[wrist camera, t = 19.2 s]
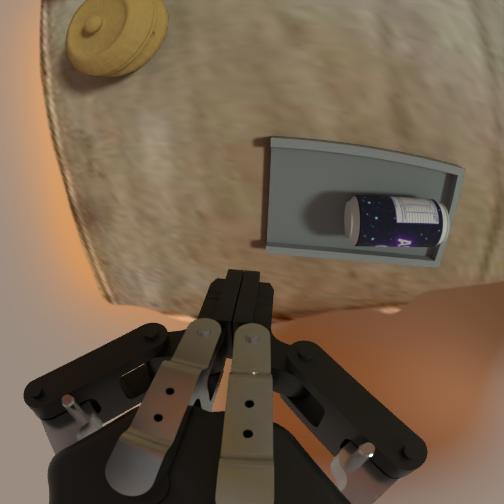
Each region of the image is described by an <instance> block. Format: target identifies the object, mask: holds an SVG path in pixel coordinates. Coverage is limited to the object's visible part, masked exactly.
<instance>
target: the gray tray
mask: <svg viewBox="0 0 504 504" xmlns="http://www.w3.org/2000/svg"><path fill="white" fill-rule="evenodd" d="M464 173H465V169H464V168H462V167H460V166H458V165H455V164H451V163H447V162H443V161H439V160H435V159H431V158H427V157H422V156H418V155H413V154H408V153H404V152H399V151H393V150H388V149H382V148H376V147H370V146H364V145H357V144H350V143H343V142H335V141H326V140H317V139H307V138H295V137H281V136H272V137H271V164H270V187H269V208H268V228H267V243H266V253H267V254H279V255H291V256H303V257H315V258H327V259H338V260H350V261H362V262H374V263H386V264H398V265H410V266H422V267H434V268H438V267H439V265H440V262H441V259H442V256H443V253H444V250H445V247H446V244H447V241H448V237H449V234H450V231H451V227H452V224H453V220H454V216H455V213H456V209H457V205H458V201H459V196H460V192H461V188H462V183H463V178H464ZM355 195H371V196H392V197H409V198H424V199H433V200H435V201H437V202H438V203H442V204H443V205H444V206H445V207H446V209H447V211H448V215H449V232H448V236H447V238H446V240H445V241H444V242H443V243H442V244H438V245H436V246H434V247H365V246H354V245H353V244H352V243H351V241H350V240H348V239H347V238H346V235H345V227H344V214H345V206H346V203H347V202H348V201H350V200H351V199H352V197H353V196H355Z"/></svg>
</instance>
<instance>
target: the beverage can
mask: <svg viewBox="0 0 504 504" xmlns="http://www.w3.org/2000/svg"><path fill="white" fill-rule="evenodd" d="M344 227H345V235H346V238H347V239H348V240H350V241H351V243H352V244H353V245H354V246H365V247H434V246H436V245H438V244H442V243H443V242H444V241H445V240H446V238H447V236H448V232H449V215H448V211H447V209H446V207H445V206H444V205H443V204H442V203H438V202H437V201H435V200H433V199H424V198H409V197H392V196H371V195H355V196H353V197H352V199H351V200H350V201H348V202H347V203H346V206H345V214H344Z"/></svg>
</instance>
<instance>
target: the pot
mask: <svg viewBox="0 0 504 504" xmlns="http://www.w3.org/2000/svg"><path fill="white" fill-rule="evenodd" d="M168 20H169V18H168V12H167V8H166V6H165V4H164V2H163V1H162V0H86V1H85V2H84V3H83V4H82V5H81V6H80V7H79V8H78V10H77V11H76V13H75V14H74V16H73V18H72V20H71V22H70V24H69V27H68V31H67V35H66V51H67V54H68V57H69V60H70V61H71V63H72V64H73V66H74V67H75V68H76V69H77V70H78V71H80V72H81V73H84V74H87V75H91V76H105V77H117V76H122V75H126V74H128V73H130V72H133V71H135V70H137V69H138V68H140V67H141V66H143V65H144V64H146V63H147V62H148V61H149V60H150V59H151V58H152V57H153V56H154V55H155V53H156V52H157V51H158V49H159V48H160V46H161V45H162V43H163V41H164V39H165V36H166V33H167V30H168Z"/></svg>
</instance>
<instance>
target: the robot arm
mask: <svg viewBox="0 0 504 504" xmlns="http://www.w3.org/2000/svg"><path fill="white" fill-rule="evenodd" d="M273 295H274V289H273V288H272V286H271V284H270V283H263V282H260V272H257V271H246V270H245V272H244V270H234V269H229V270H228V273H227V276H226V279H219V278H217V279H216V280H215V281H214V282H212V283H211V284H210V287H209V289H208V293H207V295H206V297H205V300H204V303H203V305H202V308H201V311H200V313H199V316H198V319H197V320H194V321H193V322H191V323H190V324H189V326H188V327H187V329H185V330H182V331H173V332H167V329H166V328H165V327H164V326H163V325H161V324H158V323H148V324H145V325H142V326H140V327H138V328H137V329H135V330H133V331H131V332H129V333H127V334H125V335H123V336H121V337H119V338H117V339H115V340H113V341H111V342H109V343H107V344H105V345H103V346H101V347H100V348H97V349H95V350H93V351H91V352H89V353H87V354H85V355H83V356H81V357H79V358H77V359H75V360H74V361H71V362H69V363H67V364H66V365H64V366H62V367H59V368H57V369H55V370H53V371H51V372H49V373H47V374H45V375H43V376H41V377H39V378H37V379H35V380H33V381H31V382H30V383H29V384H28V385H27V386H26V388H25V390H24V401H25V403H26V404H27V405H28V406H29V407H30V408H31V409H32V410H33V411H34V413H35V414H36V416H37V417H39V418H40V420H41V421H42V424H43V426H44V429H45V432H46V434H47V436H48V439H49V441H50V443H51V446H52V448H53V450H54V452H55V454H56V455H55V456H54V457H53V459H52V461H51V462H50V465H49V468H48V483H49V493H50V494H49V499H50V500H49V504H372V503H374V502H375V501H376V500H377V499H378V498H379V497H380V496H381V495H382V494H384V493H385V491H387V490H388V489H389V488H390V487H391V486H392V485H393V484H394V483H395V482H397V481H398V480H400V479H402V478H403V477H405V476H406V475H408V474H410V473H411V472H413V471H414V470H416V469H417V468H419V467H420V466H421V465H422V464H423V463H424V462H425V460H426V458H427V447H426V444H425V442H424V441H423V440H422V439H421V438H420V437H419V436H417V435H416V434H415V433H414V432H413V431H412V430H411V429H410V428H408V427H407V426H406V425H405V424H404V423H403V422H402V421H400V420H399V419H398V418H397V417H396V416H395V415H394V414H393V413H392V412H390V411H389V410H388V409H387V408H386V407H385V406H384V405H383V404H381V403H380V402H379V401H378V400H377V399H376V398H375V397H374V396H373V395H371V394H370V393H369V392H368V391H367V390H366V389H365V388H364V387H363V386H362V385H360V384H359V383H358V382H357V381H356V380H355V379H354V378H353V377H352V376H351V375H350V374H348V373H347V372H346V371H345V370H344V369H343V368H342V367H341V366H340V365H339V364H338V363H337V362H335V361H334V360H333V359H332V358H331V357H330V356H329V355H328V354H327V353H326V352H325V351H324V350H323V349H321V348H320V347H319V346H318V345H317V344H315V343H313V342H310V341H298V342H295V343H293V344H292V345H288V344H286V343H283V342H281V341H279V340H277V339H276V338H275V337H274V336H273V334H272V332H271V320H272V308H273ZM226 358H230V359H232V365H231V372H230V374H229V380H228V390H227V398H226V408H225V411H221V412H212V407H213V403H214V400H215V397H216V394H217V391H218V388H219V385H220V382H221V379H222V376H223V373H224V366H225V361H226ZM142 364H144V365H142ZM140 365H142V366H140ZM138 366H140V367H138ZM137 367H138V368H137ZM135 368H136V369H135ZM133 369H135V370H133ZM131 370H133V371H131ZM130 371H131V372H130ZM128 372H129V373H128ZM126 373H127V374H126ZM124 374H126V375H124ZM122 375H124V376H122ZM121 376H122V377H121ZM273 391H275V392H277V393H280V396H281V398H282V399H283V400H284V402H285V403H286V404H287V405H288V406H289V407H290V408H291V410H292V411H293V412H294V413H295V414H296V415H297V417H298V418H299V419H300V420H301V421H302V422H303V423H304V424H305V425H306V427H307V428H308V429H309V430H310V431H311V432H312V433H313V434H314V435H315V437H317V439H318V440H319V441H320V442H321V443H322V444H323V445H324V446H325V447H326V448H327V449H328V450H329V451H330V452H331V454H332V455H333V456H334V459H333V461H332V463H331V471H332V474H333V476H334V477H335V479H336V480H337V484H338V488H337V487H336V486H335V485H334V483H333V482H332V481H331V480H330V479H329V478H328V477H327V476H326V474H325V473H324V472H323V471H322V470H321V469H320V467H319V466H318V465H317V464H316V463H315V462H314V460H313V459H312V458H311V457H310V456H309V454H308V453H307V452H306V451H305V450H304V448H303V447H302V446H301V445H300V443H299V442H298V441H297V440H296V438H295V437H294V436H293V435H292V434H291V433H290V432H289V431H288V430H286V429H285V428H283V427H282V426H280V425H279V424H277V423H274V422H273ZM141 402H142V403H141ZM139 403H141V405H140V406H138V407H136V408H134V409H132V410H130V411H129V412H127V413H125V414H124V415H122V416H120V417H119V418H117V419H115V420H114V421H112V422H111V423H109V424H107V425H106V426H104V427H102V425H103V423H105V422H107V421H109V420H111V419H112V418H114V417H116V416H118V415H120V414H122V413H123V412H125V411H127V410H129V409H130V408H132V407H134V406H136V405H137V404H139Z"/></svg>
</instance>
